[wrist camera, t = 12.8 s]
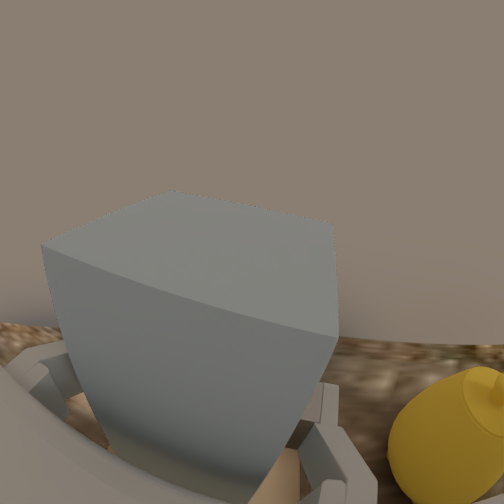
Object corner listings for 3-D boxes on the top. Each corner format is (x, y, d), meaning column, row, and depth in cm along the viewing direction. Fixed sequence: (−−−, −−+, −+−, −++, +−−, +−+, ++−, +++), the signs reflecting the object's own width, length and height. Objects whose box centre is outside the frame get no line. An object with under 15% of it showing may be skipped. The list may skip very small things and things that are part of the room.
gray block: (268, 424, 12) (332, 223, 8) (240, 512, 7) (338, 337, 3) (172, 393, 12) (170, 190, 8) (125, 468, 8) (41, 244, 4)
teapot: (454, 391, 29) (504, 315, 23) (506, 459, 15) (574, 386, 9) (348, 438, 23) (411, 347, 18) (405, 547, 10) (520, 491, 4)
